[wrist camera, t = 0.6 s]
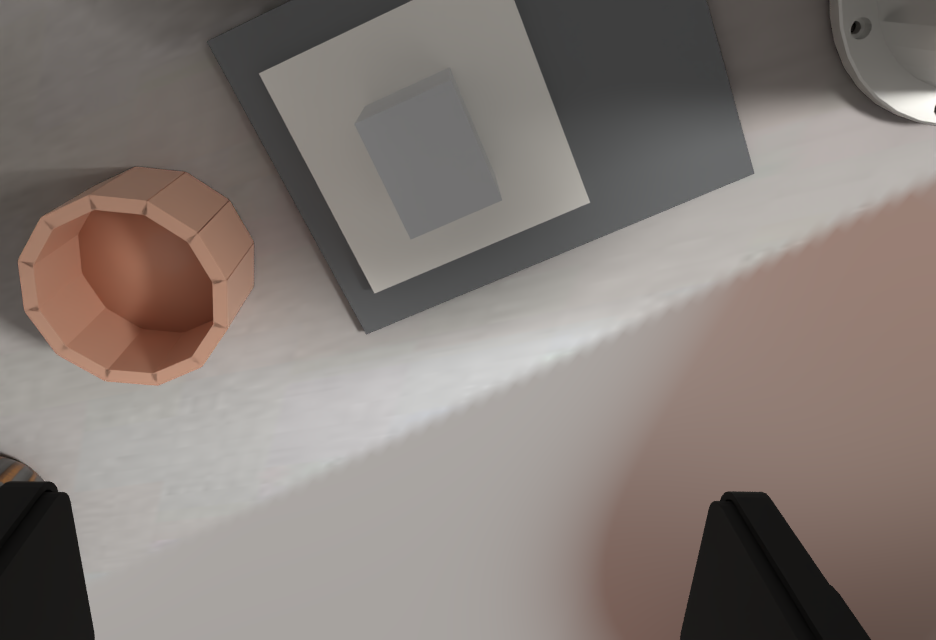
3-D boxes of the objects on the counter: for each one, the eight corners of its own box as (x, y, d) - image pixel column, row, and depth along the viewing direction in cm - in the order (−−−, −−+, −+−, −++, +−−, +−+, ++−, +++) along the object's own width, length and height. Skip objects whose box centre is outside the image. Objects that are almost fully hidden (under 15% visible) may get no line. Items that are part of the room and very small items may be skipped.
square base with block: (497, -41, 31) (507, -45, 26) (588, 199, 35) (610, 232, 31) (261, 72, 33) (232, 87, 28) (375, 288, 37) (366, 333, 32)
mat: (654, -177, 30) (656, -178, 29) (751, 171, 36) (754, 173, 35) (209, 40, 32) (206, 41, 32) (366, 330, 38) (366, 334, 38)
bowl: (193, 138, 34) (155, 163, 30) (285, 296, 37) (264, 340, 33) (36, 212, 35) (-24, 247, 31) (139, 359, 38) (98, 410, 34)
